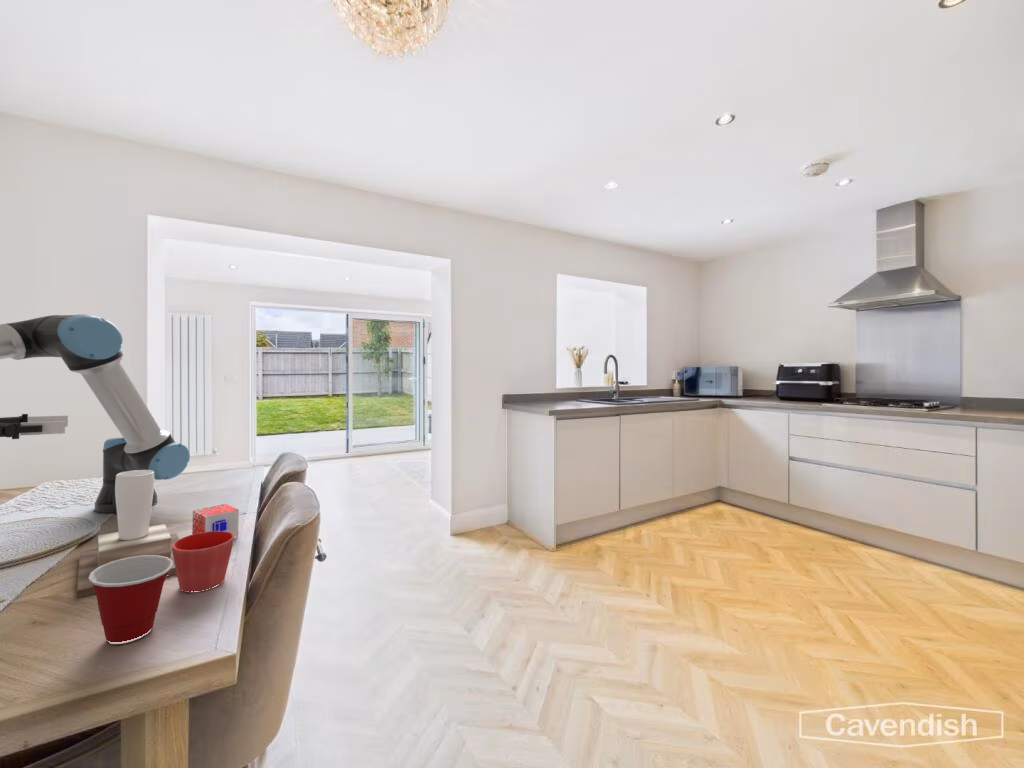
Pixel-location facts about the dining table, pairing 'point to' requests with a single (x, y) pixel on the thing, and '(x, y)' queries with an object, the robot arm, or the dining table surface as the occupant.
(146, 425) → the robot arm
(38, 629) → the dining table surface
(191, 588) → the flower pot
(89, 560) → the display stand
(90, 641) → the dining table surface
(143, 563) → the plastic cup
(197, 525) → the red patterned cube
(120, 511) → the drinking glass
